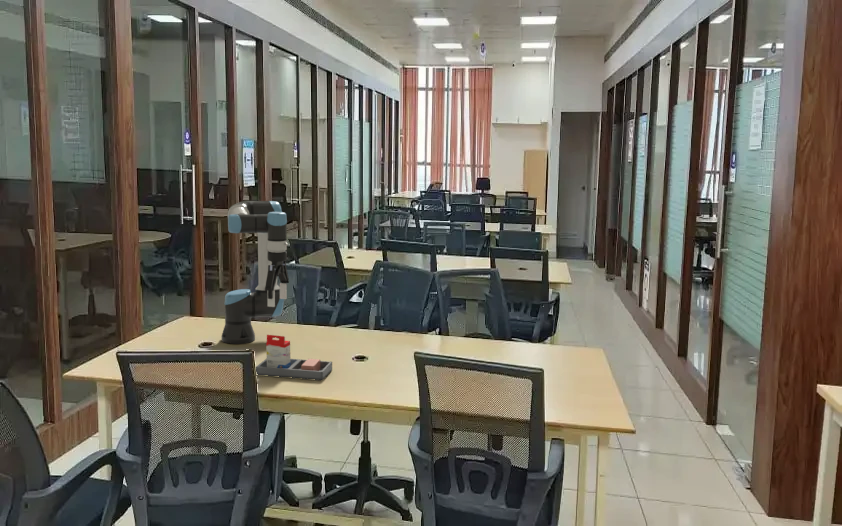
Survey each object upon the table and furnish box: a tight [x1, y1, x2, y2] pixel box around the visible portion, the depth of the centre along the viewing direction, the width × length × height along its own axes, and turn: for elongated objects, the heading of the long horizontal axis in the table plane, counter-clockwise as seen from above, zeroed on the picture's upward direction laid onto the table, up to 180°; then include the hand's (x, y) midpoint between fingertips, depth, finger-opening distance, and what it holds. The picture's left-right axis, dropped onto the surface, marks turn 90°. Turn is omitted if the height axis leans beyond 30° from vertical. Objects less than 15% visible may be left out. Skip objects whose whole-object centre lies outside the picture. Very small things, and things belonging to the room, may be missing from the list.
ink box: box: [265, 334, 291, 369], centre depth 274 cm, size 8×5×15 cm, turn 74°
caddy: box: [255, 358, 333, 381], centre depth 274 cm, size 27×14×4 cm, turn 82°
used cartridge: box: [301, 358, 321, 371], centre depth 273 cm, size 5×9×4 cm, turn 172°
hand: (277, 302), depth 276 cm, fingers open, 13 cm apart
